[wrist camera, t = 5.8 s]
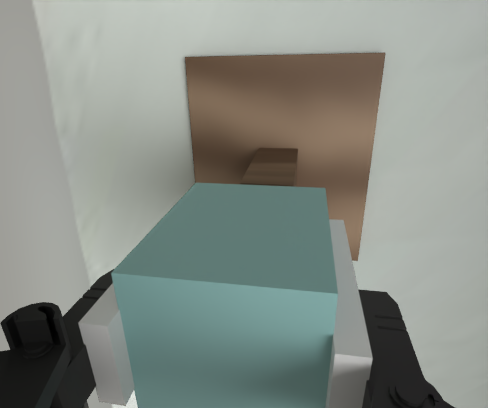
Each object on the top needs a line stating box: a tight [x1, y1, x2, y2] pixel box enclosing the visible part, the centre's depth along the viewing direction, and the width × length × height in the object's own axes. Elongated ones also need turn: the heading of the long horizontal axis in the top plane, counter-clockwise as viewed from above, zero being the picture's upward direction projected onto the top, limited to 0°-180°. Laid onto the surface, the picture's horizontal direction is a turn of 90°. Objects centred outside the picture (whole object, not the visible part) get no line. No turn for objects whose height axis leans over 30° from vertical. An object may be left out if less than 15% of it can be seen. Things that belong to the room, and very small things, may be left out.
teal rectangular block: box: [111, 183, 338, 408], centre depth 12 cm, size 5×5×7 cm
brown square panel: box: [185, 53, 385, 261], centre depth 20 cm, size 14×12×8 cm
